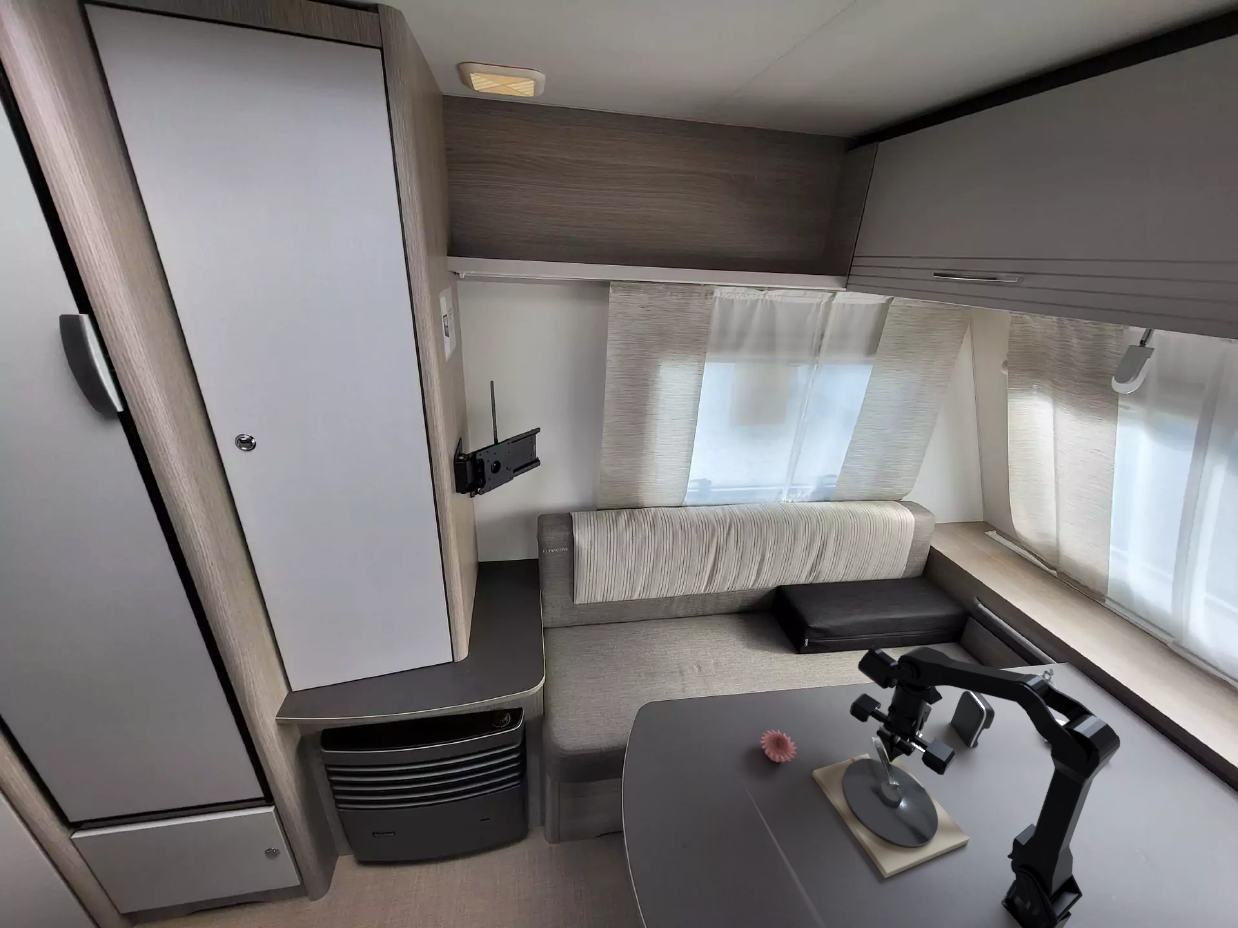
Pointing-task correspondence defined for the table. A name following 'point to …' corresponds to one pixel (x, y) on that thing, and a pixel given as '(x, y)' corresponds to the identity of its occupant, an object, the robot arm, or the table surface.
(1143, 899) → the table surface
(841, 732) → the table surface
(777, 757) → the flower
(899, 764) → the dial board
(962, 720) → the battery charger
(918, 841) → the dial
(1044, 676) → the grey irregular lump
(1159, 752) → the table surface
